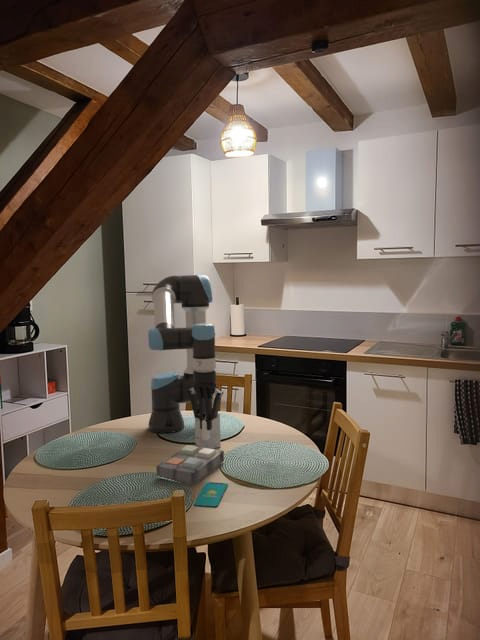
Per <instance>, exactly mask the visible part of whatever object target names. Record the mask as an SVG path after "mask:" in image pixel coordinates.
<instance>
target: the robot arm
mask: <svg viewBox="0 0 480 640" xmlns="http://www.w3.org/2000/svg"><path fill="white" fill-rule="evenodd" d="M210 281H211V280H210V278H209V277H208V276H207V275H202V274H195V275H194V274H191V275H190V274H188V275H187V274H186V275H169V276H167V277H165V278H163V279H161V280H160V281H159V282H157V284H156V285H154V287H153V289H152V291H151V302H152V304H153V312H154V313H153V314H154V315H153V320H154V321H153V324H154V325H153V328H149V330H148V331H147V332H148V334H147V335H148V336H147V337H148V349H149V350H151V351H168V350H171V351H172V350H186V368H185V369H183V375H180V374H179V373H178V372H177V371H169V372H162V373H159V374H157V375H154V376H153V377H152V378H151V386H150V390H151V413H150V417H149V420H148V431H150V432H152V433H156V434H167V433H166V432H172V433H174V432H173V431H176V432H178V431H177V430H179V431H181V430H180V429H182V428H183V427H184V428H185V421H184V417H183V415H182V412H181V408H180V404H188V403H190V404H191V407H192V413H193V416H194V419H195V418H198V419H199V420H200V429H202V440H208V439H209V438H210V430H211V429H212V420H214V419H215V418H217V415H218V413H219V409H220V404H221V399H222V397H223V395H224V391H222V390H221V391H220V390H219V389H218V386H217V373H216V372H217V371H216V368H217V367H216V362H217V361H216V332H215V325H214V324H213V323H207V316H206V315H207V313H206V312H207V310H208V308H209V307H210V304H211V303H213V292H212V291H213V290H212V285H211V282H210ZM174 304H181V309H183V311H184V312H185V327H176V323H175V322H176V321H175V305H174ZM213 397H214V398H213ZM205 418H206V419H205ZM184 428H183V429H184ZM183 429H182V430H183ZM158 432H160V433H158Z"/></svg>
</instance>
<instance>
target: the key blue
mask: <svg viewBox="0 0 480 640" xmlns="http://www.w3.org/2000/svg"><path fill="white" fill-rule="evenodd" d="M201 465H202V459H198V458H192V457H190V458H188V459H187V460H185V461H184V462H183V467H187V468H192V469H196V468H198V467H199V466H201Z"/></svg>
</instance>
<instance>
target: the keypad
mask: <svg viewBox="0 0 480 640" xmlns="http://www.w3.org/2000/svg"><path fill="white" fill-rule="evenodd" d="M198 447H199V446H198ZM202 449H203V448H202V447H199V451H200V450H202ZM224 452H225V451H224V450H220V449H215V455H214V456H213V457H211V458H210V459H208V458H203V457H198V452H197V453H196V454H195V455H193V456H191V455H185V454H181V450H180V451H177V452H176V453H175V454H173V455H172V456H170V457H169V458H167V459H165V460H164V461H162V462H161V463H159V464H157V465H156V477H157V476H160V477H164V478H167V479H171V480H174V481H177V482H180V483H179V484H181V483H182V485H186V486H193V487H195V486H196V485H198V484H199V483H200V482H202V481H203V480H204V479H205V478H206V477H208V476H209V475H210V474H211V473H213V472H215V470H217V469H218V468H219V467H220V466H222V465H221V463H222V462H223V461H224V462H225V458H224V457H225V455H224V454H225V453H224ZM173 457H174V458H180V459H185V460H187V459H188V458H190V457H192V458H198V459H202V465H201V466H199V467H198V468H196V469H192V468H187V467H183V463H181V464H180V465H178V466H176V465H170V464H166V462H167V461H169V460H170V459H172V458H173Z"/></svg>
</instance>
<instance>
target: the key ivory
mask: <svg viewBox="0 0 480 640" xmlns="http://www.w3.org/2000/svg"><path fill="white" fill-rule="evenodd" d="M215 450H216V448H214V449H209V448H203V449H202V450H200V451H199V452H198V457H203V458H208V459H210V458H211V457H213V456H214V455H215Z"/></svg>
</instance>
